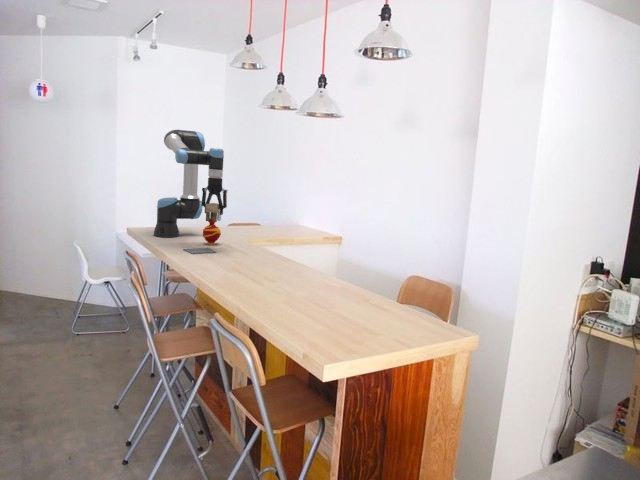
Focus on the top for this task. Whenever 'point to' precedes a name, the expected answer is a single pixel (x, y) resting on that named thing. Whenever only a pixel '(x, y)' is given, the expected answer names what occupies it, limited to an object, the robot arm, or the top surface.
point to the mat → (199, 250)
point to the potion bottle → (211, 233)
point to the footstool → (212, 211)
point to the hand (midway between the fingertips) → (213, 220)
